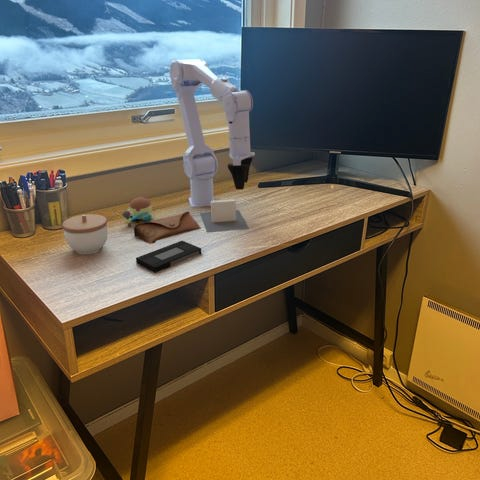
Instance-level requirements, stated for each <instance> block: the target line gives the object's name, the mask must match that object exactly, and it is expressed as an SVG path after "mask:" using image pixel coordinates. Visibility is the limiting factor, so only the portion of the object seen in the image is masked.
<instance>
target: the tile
mask: <svg viewBox="0 0 480 480" xmlns="http://www.w3.org/2000/svg"><path fill="white" fill-rule="evenodd" d="M236 206H237V204H236V199H235V198H232V199H219V200H218V199H216V200H214V201H211V206H210V212H211V221H212V222H223V221H236V210H237V209H236V208H237V207H236Z"/></svg>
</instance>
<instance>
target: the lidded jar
mask: <svg viewBox="0 0 480 480" xmlns="http://www.w3.org/2000/svg"><path fill="white" fill-rule="evenodd" d="M107 219H108V218H107V217H105V216H103V215H101V214H91V213H90V214H79V215H76V216H72V217H69V218H68V219H66V220H64V221H62V223H61V225H62V226H61V227H62V229H63V235H64V237H65V240H66V243H67V244H68V247H70V248H71V249H72V250H73V251H75V252H76V253H77V254H79V255H85V256H87V255H92V254H96V253H98V252H100V251H101V250H102V248H103V247H104V246H105V244H106V242H107V239H108V220H107Z"/></svg>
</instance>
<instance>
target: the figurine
mask: <svg viewBox="0 0 480 480" xmlns="http://www.w3.org/2000/svg"><path fill="white" fill-rule="evenodd" d="M152 211H153V207H152V203H151V201H150V200H148V199H147V198H145V197H142V196H141V197H140V196H139V197H135V198H134V199H132V200H131V202H130V204H129V206H128V209H127V210H124V211H123V212H122V216H123V218H125V223H126V224H127V226H128V227H132V222H133V221H135V220H142V221H143V222H149V221H150V220H151V219H152V217H153V215H152Z"/></svg>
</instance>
